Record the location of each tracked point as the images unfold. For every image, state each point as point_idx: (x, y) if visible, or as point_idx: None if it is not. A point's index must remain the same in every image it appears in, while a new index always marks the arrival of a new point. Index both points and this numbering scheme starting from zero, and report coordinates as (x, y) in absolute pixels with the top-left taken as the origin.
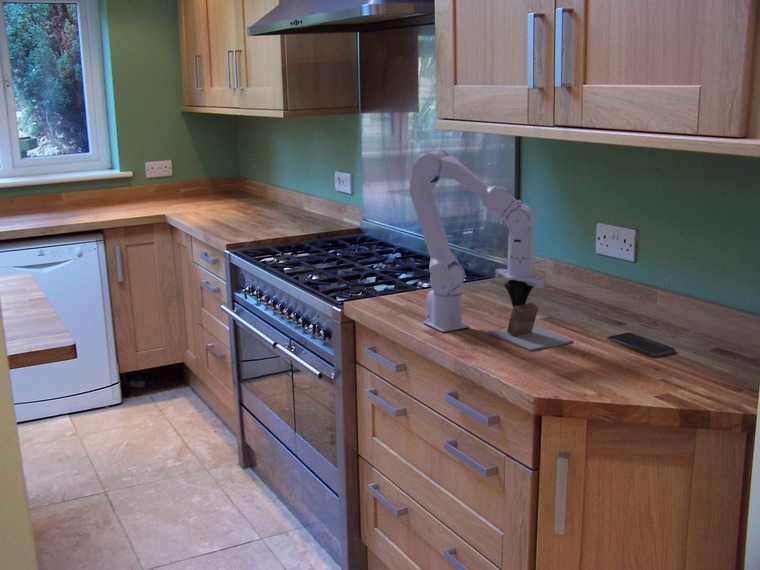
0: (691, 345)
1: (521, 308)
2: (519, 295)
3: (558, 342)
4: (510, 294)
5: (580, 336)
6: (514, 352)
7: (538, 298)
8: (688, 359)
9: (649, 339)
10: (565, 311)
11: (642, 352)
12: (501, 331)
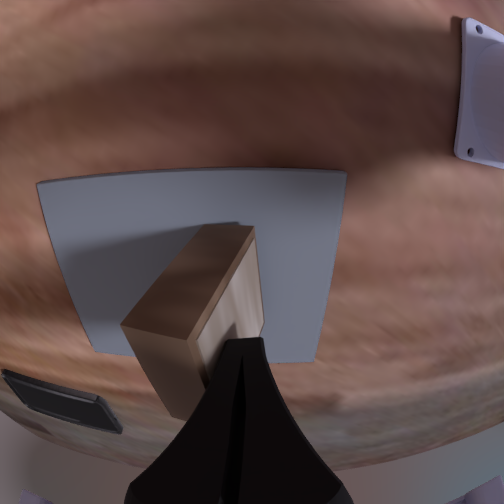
0: (61, 430)
1: (160, 360)
2: (174, 444)
3: (84, 312)
4: (277, 430)
5: (143, 385)
6: (51, 119)
7: (429, 427)
8: (2, 389)
9: (76, 423)
10: (334, 438)
11: (14, 375)
12: (307, 225)
